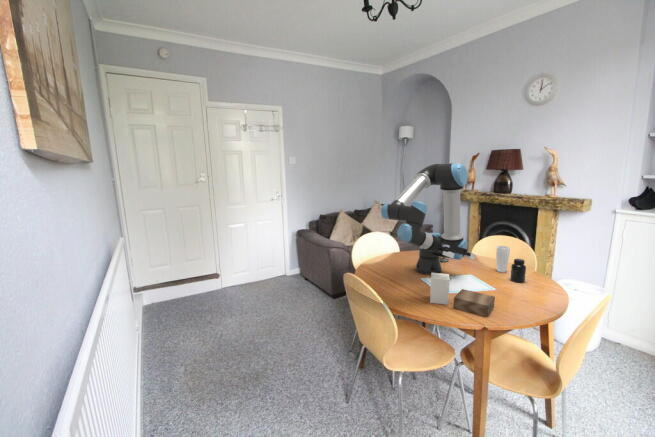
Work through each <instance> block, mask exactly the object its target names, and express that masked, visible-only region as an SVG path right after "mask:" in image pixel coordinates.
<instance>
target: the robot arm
mask: <svg viewBox="0 0 655 437" xmlns="http://www.w3.org/2000/svg"><path fill="white" fill-rule="evenodd" d="M467 170H468V169H467V168H466V166H465V165H464V164H463V163H454V162H451V163H449V162H448V163H433V164H430V165H428V166H426V167H424V168H422V169H421V170H420V171H418V172H417V173H416V174H415V175H414V177H413V180H412V181H411V182H410V183H409V184H408V185H407V186H406V187H405V189H404V190H402V192H401V193H400V194H398V195H397V197H396V198H395V199H394V200H393V201H392V202H391V203H384V204H383V205H382V206H381V209H380V215H381V217H382V218H383V219H387V220H392V221H401V222H405V223H402V224H400V226H399V227H398V229H397V232H396V233H397V234H396V236H397V238H399V239H400V240H402V241H403V242H406V243H408V244H411V245H414V246H417V247H418V248H419V251H418V259H417V262H416V265H415V271H416V272H418V273H420V274H424V275H431V273H441V274H442V273H443V268H442V265H441V261H440V260H439V257H440V256H441V257H442V258H443V257H445V258H446V259H449V260H450V259H451V260H458V261H460V260H462V259H463V258H467V259H470V260H471V261H474V260H475V258H476V254H475V253H473V252H471V251H468V245H469V244H468V240H466V239H464V234H463V233H461V192H462V190H463V189H464V187H466V186H467V183H468V178H469V174H468V171H467ZM430 186H439V187H440V188H439V189H440V190H441V191H442V193H443V194H442V195H443V196H442V197H443V201H442V202H443V233H442V234H441V233H439V232H426V231H424V230H423V229H422V228H423V225H424V223H425V222H424V221H425V219H426V216H427V210H428V206H427V204H426V203H424V202H422V201H419V200H416V199H417V198H418V197H420V195H421V193H423V191H424V190H425V189H428V188H429V187H430ZM415 200H416V201H415Z"/></svg>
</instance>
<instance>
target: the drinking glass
mask: <svg viewBox="0 0 655 437" xmlns="http://www.w3.org/2000/svg"><path fill="white" fill-rule="evenodd" d="M510 249H511V248H510V247H509V246H506V245H497V246H496V252H495V253H496V272H499V273H506V272H507V270H508V264H509V259H510V252H511V250H510Z"/></svg>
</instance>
